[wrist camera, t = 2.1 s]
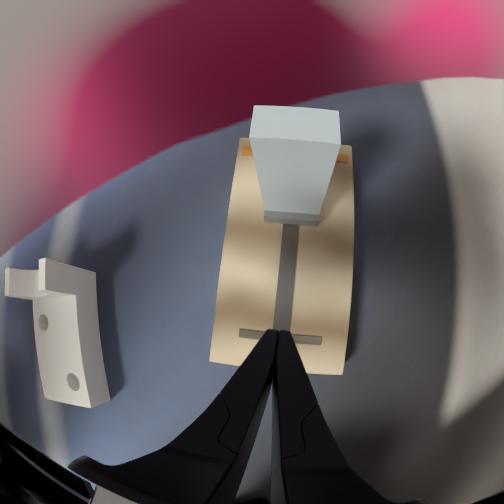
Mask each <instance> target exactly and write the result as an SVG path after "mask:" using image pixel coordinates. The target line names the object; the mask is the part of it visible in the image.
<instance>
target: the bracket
mask: <svg viewBox="0 0 504 504" xmlns="http://www.w3.org/2000/svg"><path fill="white" fill-rule="evenodd" d="M5 296H9V297H15V298H21V299H28V300H33V318H34V331H35V341H36V350H37V357H38V364H39V370H40V376H41V381H42V386H43V391H44V396H45V398H46V399H50V400H54V401H58V402H62V403H67V404H72V405H76V406H82V407H87V408H93V407H96V406H98V405H101V404H103V403H106V402H108V401H111V399H110V395H109V390H108V385H107V379H106V374H105V368H104V361H103V355H102V348H101V340H100V331H99V321H98V309H97V293H96V272H93V271H89V270H85V269H82V268H78V267H75V266H72V265H68V264H65V263H61V262H58V261H55V260H52V259H48V258H42V259H39V270H21V269H14V268H6V269H5Z"/></svg>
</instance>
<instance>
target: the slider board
mask: <svg viewBox="0 0 504 504" xmlns="http://www.w3.org/2000/svg"><path fill="white" fill-rule="evenodd" d="M353 255H354V184H353V162H352V147H351V146H349V145H340V149H339V152H338V156H337V159H336V162H335V166H334V169H333V172H332V176H331V179H330V182H329V185H328V188H327V192H326V195H325V198H324V201H323V204H322V207H321V210H320V213H319V222H318V225H317V226H307V225H295V224H283V223H270V222H265V221H264V207H263V202H262V197H261V192H260V187H259V182H258V177H257V172H256V168H255V163H254V158H253V153H252V149H251V144H250V139H249V138H240V141H239V147H238V153H237V159H236V166H235V172H234V178H233V184H232V191H231V197H230V204H229V211H228V218H227V224H226V231H225V238H224V246H223V253H222V260H221V268H220V275H219V283H218V291H217V299H216V307H215V316H214V324H213V333H212V342H211V351H210V361H211V362H217V363H223V364H229V365H236V366H241V364H242V363H243V362H244V360H245V359H246V357H247V356H248V355H249V353H250V352H251V351H252V349H253V348H254V347H255V345H256V344H257V342H258V341H259V340H260V338H261V337H262V335H263V334H264V333H265V331H266V330H267V329H277V330H278V331H279V330H289V331H290V332H291V334H292V337H293V339H294V342H295V344H296V347H297V349H298V352H299V355H300V357H301V360H302V362H303V365H304V367H305V370H306V373H313V374H332V375H342V374H343V368H344V361H345V353H346V345H347V337H348V328H349V318H350V307H351V294H352V278H353ZM278 333H279V332H278Z"/></svg>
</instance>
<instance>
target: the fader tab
mask: <svg viewBox="0 0 504 504" xmlns="http://www.w3.org/2000/svg"><path fill="white" fill-rule="evenodd" d="M249 139H250V144H251V149H252V153H253V158H254V163H255V168H256V172H257V177H258V182H259V187H260V192H261V197H262V202H263V207H264V221H265V222H270V223H283V224H295V225H307V226H317V225H318V222H319V213H320V210H321V207H322V204H323V201H324V198H325V195H326V192H327V188H328V185H329V182H330V179H331V176H332V172H333V169H334V166H335V162H336V159H337V156H338V152H339V149H340V145H341V138H340V123H339V111H334V110H325V109H314V108H302V107H286V106H254V110H253V116H252V122H251V129H250V135H249Z"/></svg>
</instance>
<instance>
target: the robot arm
mask: <svg viewBox="0 0 504 504" xmlns="http://www.w3.org/2000/svg"><path fill="white" fill-rule="evenodd" d="M278 332H279V333H278ZM273 373H274V374H273ZM272 380H273V383H272ZM271 385H272V457H271V499H270V504H428V503H427V502H426V500H425V499H418V500H414V501H409V502H405V503H395V502H392V501H389V500H388V499H386V498H385V497H384V496H382V495H381V494H380V493H379V492H377V491H376V490H375V489H374V488H373V487H371V486H370V485H369V484H368V483H367V482H365V481H364V480H363V479H362V478H361V477H360V476H358V475H357V474H356V473H355V471H354V470H353V469H352V468H351V466H350V465H349V463H348V462H347V460H346V458H345V456H344V455H343V453H342V451H341V449H340V448H339V446H338V444H337V442H336V441H335V439H334V437H333V435H332V433H331V431H330V429H329V427H328V426H327V423H326V421H325V419H324V416H323V414H322V411H321V409H320V406H319V405H318V401H317V399H316V396H315V393H314V391H313V388H312V386H311V383H310V380H309V378H308V375H307V373H306V370H305V367H304V365H303V362H302V360H301V357H300V355H299V352H298V349H297V347H296V344H295V342H294V339H293V337H292V334H291V332H290V331H289V330H279V331H278V330H277V329H267V330H266V331H265V333H264V334H263V335H262V337H261V338H260V340H259V341H258V342H257V344H256V345H255V347H254V348H253V349H252V351H251V352H250V353H249V355H248V356H247V357H246V359H245V360H244V362H243V363H242V364H241V366H240V367H239V368H238V370H237V371H236V372H235V374H234V375H233V376H232V377H231V379H230V380H229V381H228V383H227V384H226V385H225V387H224V388H223V389H222V391H221V392H220V394H218V395H217V397H216V398H215V399H214V401H213V402H212V403H211V404H210V405H209V406H208V408H207V409H206V410H205V411H204V412H203V413H202V414H201V415H200V416H199V417H198V418H197V419H196V420H195V421H194V422H193V423H192V424H191V425H190V426H188V427H187V428H186V429H185V430H184V431H183V432H182V433H181V434H179V435H178V436H177V437H176V438H175V439H174V440H173V441H171V442H170V443H169V444H167V445H166V446H164V447H163V448H161V449H159V450H157V451H155V452H152V453H150V454H147V455H145V456H142V457H140V458H137V459H134V460H132V461H129V462H126V463H123V464H120V465H116V466H109V465H104V464H102V463H99V462H98V461H96V460H94V459H92V458H90V457H88V456H85V455H83V456H81V457H80V458H78V459H76V460H74V461H73V462H71V463H70V464H69V466H68V468H69V469H71V470H72V471H74V472H75V473H77V474H78V475H80V476H82V477H84V478H85V479H87V480H89V481H91V482H93V483H95V484H96V487H95V490H94V491H93V488H92V486H91V484H90V483H89V482H88V481H86V480H84V479H82V478H81V477H79V476H77V475H75V474H74V473H72V472H71V471H69V470H67V469H66V468H64V467H63V466H61V465H60V464H58V463H57V462H55V461H54V460H52V459H51V458H49V457H48V456H46V455H45V454H43V453H42V452H40V451H39V450H38V449H36V448H35V447H33V446H32V445H30V444H29V443H27V442H26V441H25V440H23V439H22V438H20V437H19V436H18V435H16V434H15V433H14V432H12V431H11V430H10V429H8V428H7V427H6V426H4V425H3V424H2V423H1V422H0V504H233V503H234V500H235V497H236V495H237V492H238V489H239V486H240V484H241V481H242V477H243V475H244V472H245V469H246V466H247V463H248V460H249V457H250V454H251V451H252V448H253V445H254V442H255V439H256V436H257V433H258V429H259V426H260V423H261V420H262V416H263V413H264V410H265V406H266V403H267V400H268V396H269V393H270V389H271ZM260 502H263V503H260ZM239 504H269V502H268V501H267V500H266V499H264V498H259V499H255V500H252V501H248V502H244V503H239ZM472 504H504V490H503V491H500V492H498V493H496V494H494V495H491V496H489V497H487V498H484V499H482V500H479V501H477V502H474V503H472Z"/></svg>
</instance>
